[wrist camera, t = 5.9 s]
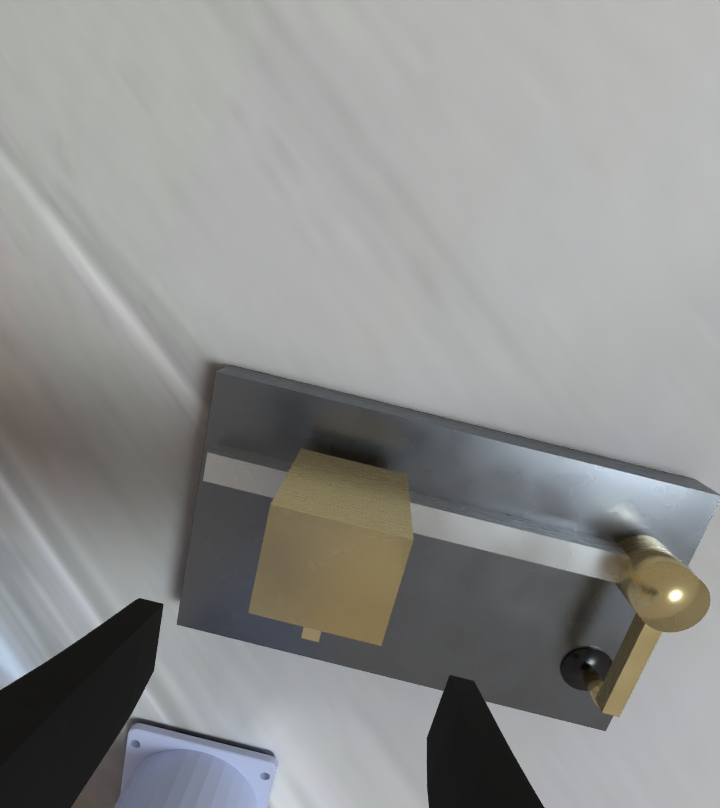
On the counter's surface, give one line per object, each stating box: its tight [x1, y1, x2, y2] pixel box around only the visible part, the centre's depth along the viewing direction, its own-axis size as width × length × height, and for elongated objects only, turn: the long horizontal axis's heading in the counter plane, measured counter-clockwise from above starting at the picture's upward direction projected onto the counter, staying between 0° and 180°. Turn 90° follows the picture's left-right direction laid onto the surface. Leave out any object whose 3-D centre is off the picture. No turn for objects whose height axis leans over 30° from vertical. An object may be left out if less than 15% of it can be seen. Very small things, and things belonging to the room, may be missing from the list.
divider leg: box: [248, 448, 413, 646], centre depth 16 cm, size 8×4×5 cm, turn 167°
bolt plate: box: [177, 365, 720, 731], centre depth 18 cm, size 12×20×4 cm, turn 77°
